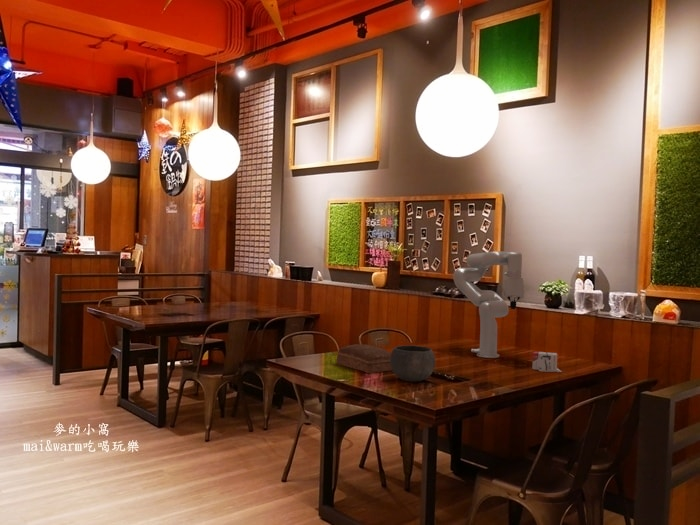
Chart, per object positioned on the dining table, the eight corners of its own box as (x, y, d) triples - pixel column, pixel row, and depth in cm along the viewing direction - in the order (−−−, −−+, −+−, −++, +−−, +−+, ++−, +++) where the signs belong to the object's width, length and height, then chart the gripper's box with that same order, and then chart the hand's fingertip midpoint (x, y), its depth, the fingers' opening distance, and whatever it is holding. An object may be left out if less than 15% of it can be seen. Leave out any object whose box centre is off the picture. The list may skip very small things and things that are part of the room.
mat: (539, 371, 306) (539, 370, 306) (534, 366, 318) (534, 366, 318) (562, 372, 305) (562, 371, 305) (555, 367, 317) (555, 366, 317)
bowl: (403, 387, 264) (404, 352, 263) (382, 377, 283) (382, 345, 282) (443, 384, 272) (443, 350, 272) (419, 374, 291) (420, 343, 290)
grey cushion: (368, 374, 290) (368, 350, 290) (334, 364, 314) (335, 342, 314) (396, 371, 300) (396, 348, 299) (361, 361, 324) (361, 339, 324)
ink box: (532, 352, 309) (557, 354, 305) (533, 351, 313) (557, 352, 309) (532, 369, 309) (556, 371, 305) (532, 367, 313) (556, 369, 309)
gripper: (501, 275, 325) (500, 309, 326) (529, 275, 324) (528, 310, 325) (498, 274, 333) (497, 307, 333) (526, 275, 332) (525, 308, 332)
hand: (513, 308), depth 329 cm, fingers closed
